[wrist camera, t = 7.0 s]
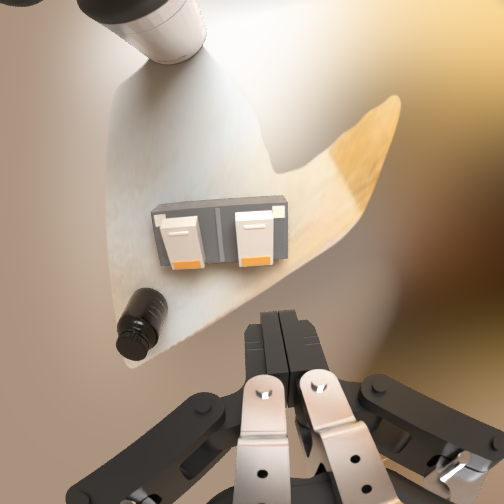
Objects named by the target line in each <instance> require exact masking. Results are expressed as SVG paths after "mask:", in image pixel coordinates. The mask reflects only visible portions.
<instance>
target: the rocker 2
mask: <svg viewBox="0 0 504 504" xmlns="http://www.w3.org/2000/svg"><path fill="white" fill-rule="evenodd" d="M235 224H236V235H237V247H238V258H239V267H248V266H263V265H273V225H274V219H273V214H272V210H268V211H250V212H235Z"/></svg>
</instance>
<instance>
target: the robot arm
mask: <svg viewBox="0 0 504 504" xmlns="http://www.w3.org/2000/svg"><path fill="white" fill-rule="evenodd" d="M41 1H43V0H0V3H2V4H5V5H9V6H16V7H26V6H31V5H34V4H37V3H39V2H41ZM77 3H78V5H79V7H80V9H81V10H82V12H84V13H85V14H86V15H87V16H89V17H90V18H92V19H94V20H95V21H97V22H99V23H100V24H102V25H103V26H105V27H106V28H108V29H109V30H111V31H112V32H114V33H115V34H117V35H118V36H120V37H121V38H122V39H124V40H125V41H127V42H128V43H129V44H131V45H132V46H134V47H135V48H137V49H138V50H139V51H140V52H142V53H143V54H144V55H146V56H147V57H148V58H150V59H151V60H153V61H154V62H157V63H160V64H167V65H168V64H176V63H180V62H183V61H185V60H187V59H189V58H190V57H192V56H194V55H195V54H196V53H197V52H198V51H199V50H200V48H201V47H202V46H203V43H204V41H205V38H206V27H205V24H204V21H203V18H202V14H201V11H200V9H199V6H198V3H197V0H77ZM260 319H261V324H252V325H249V326H248V327H247V329H246V331H245V334H244V335H245V364H246V381H245V384H244V385H243V387H242V388H241V389H240V390H238V391H237V392H235V393H233V394H231V395H228V396H225V397H221V398H219V397H218V396H217V395H215V394H212V393H208V392H201V393H197V394H194V395H192V396H191V397H189V398H188V399H187V400H186V401H184V402H183V403H182V404H181V405H180V406H178V407H177V408H176V409H175V410H174V411H172V412H171V413H170V414H169V415H168V416H167V417H165V418H164V419H163V420H162V421H161V422H159V423H158V424H157V425H155V426H154V427H153V428H152V429H150V430H149V431H148V432H147V433H145V434H144V435H143V436H141V437H140V438H139V439H138V440H136V441H135V442H134V443H132V444H131V445H130V446H128V447H127V448H126V449H124V450H123V451H122V452H120V453H119V454H118V455H116V456H115V457H114V458H112V459H111V460H109V461H108V462H107V463H105V464H104V465H102V466H101V467H100V468H98V469H97V470H95V471H94V472H92V473H91V474H89V475H88V476H87V477H85V478H84V479H82V480H81V481H79V482H78V483H76V484H74V485H73V486H72V487H70V488H69V490H68V491H67V493H66V504H172V503H173V502H175V501H176V500H177V499H178V498H179V497H180V496H182V495H183V494H184V493H185V492H186V491H187V490H189V489H190V488H191V487H192V486H193V485H194V484H195V483H196V482H197V481H198V480H200V479H201V478H202V477H203V476H204V475H205V474H206V473H207V472H208V471H209V470H210V469H211V468H212V467H213V466H214V465H215V464H216V463H217V462H218V461H219V460H220V459H221V458H222V457H223V456H224V455H225V454H226V453H227V452H228V451H229V450H230V449H231V447H234V446H237V457H236V470H235V484H234V486H233V487H230V488H228V489H226V490H224V491H222V492H220V493H219V494H217V495H216V496H214V497H213V498H212V499H211V500H210V501H209V502H208V503H207V504H474V502H475V500H476V498H477V495H478V494H479V492H480V489H481V487H482V485H483V483H484V481H485V478H486V476H487V473H488V471H489V470H490V469H491V468H492V467H494V466H495V465H496V464H497V463H499V462H500V461H501V460H502V459H503V458H504V432H503V431H501V430H499V429H496V428H494V427H492V426H489V425H487V424H485V423H483V422H480V421H478V420H476V419H474V418H471V417H469V416H467V415H465V414H463V413H461V412H459V411H456V410H454V409H452V408H450V407H448V406H446V405H444V404H442V403H440V402H438V401H435V400H433V399H431V398H429V397H427V396H425V395H423V394H421V393H419V392H417V391H415V390H413V389H411V388H409V387H407V386H405V385H403V384H402V383H400V382H398V381H396V380H394V379H392V378H390V377H388V376H386V375H382V374H374V375H370V376H368V377H367V378H365V379H364V381H363V382H362V383H358V382H347V381H343V380H340V379H338V378H337V377H336V376H335V375H334V374H333V373H331V372H330V370H329V368H328V365H327V362H326V359H325V356H324V353H323V350H322V347H321V345H320V342H319V338H318V337H317V333H316V330H315V327H314V326H313V325H312V324H311V323H310V322H309V321H308V320H300V321H298V319H297V316H296V312H295V310H284V311H278V314H277V311H273V312H261V313H260ZM286 405H288V408H290V407H294V408H295V414H296V417H295V425H296V429H297V432H298V436H299V440H300V443H301V447H302V451H303V454H304V458H305V464H306V475H307V479H301V478H290V465H289V444H288V436H287V431H286V411H285V408H286ZM379 453H380V454H382V455H384V456H386V457H387V458H389V459H391V460H393V461H395V462H397V463H399V464H400V465H402V466H404V467H406V468H408V469H410V470H412V471H414V472H416V473H418V474H420V475H422V476H424V479H423V481H424V488H423V487H421V486H420V485H418V484H416V483H414V482H412V481H411V480H409V479H407V478H405V477H404V476H402V475H400V474H398V473H397V472H395V471H393V470H390V469H388V468H385V466H384V464H383V461H382V459H381V457H380V455H379Z"/></svg>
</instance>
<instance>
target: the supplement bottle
mask: <svg viewBox="0 0 504 504" xmlns="http://www.w3.org/2000/svg"><path fill="white" fill-rule="evenodd" d="M167 309H168V306H167V302H166V300H165V298H164V297H163V295H162V294H161V293H159V292H158V291H156V290H154V289H151V288H141V289H138V290H137V291H135V292H134V293H133V295H132V297H131V298H130V300H129V302H128V304H127V306H126V308H125V310H124V312H123V314H122V316H121V318H120V320H119V322H118V324H117V332H118V335H119V336H118V339H117V342H116V347H117V350H118V351H119V352H120V354H121V355H122V356H124V357H125V358H127V359H130V360H133V361H139V360H143V359H144V358H145V357H146V355H147V352H148V350H149V349H151V348H153V347H154V346H155V345H156V344H157V342H158V339H159V336H160V333H161V330H162V326H163V323H164V320H165V317H166V313H167Z"/></svg>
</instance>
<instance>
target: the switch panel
mask: <svg viewBox="0 0 504 504" xmlns="http://www.w3.org/2000/svg"><path fill="white" fill-rule="evenodd" d="M268 210H272V214H273V219H274V225H273V259H287V258H288V202H287V201H286V199H285V198H284V196H262V197H244V198H229V199H216V200H203V201H192V202H181V203H171V204H161V205H158V206H157V207H156V208H155V209H154V210H153V211H152V212H151V216H152V222H153V228H154V233H155V239H156V244H157V249H158V254H159V259H160V264H161V266H171V263H170V260H169V257H168V254H167V251H166V248H165V244H164V241H163V238H162V234H161V231H160V227H161V223H162V220H163V219H167V218H178V217H189V216H198V222H199V227H200V232H201V238H202V243H203V248H204V253H205V264H208V263H225V262H239V258H238V247H237V235H236V224H235V212H250V211H268Z"/></svg>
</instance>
